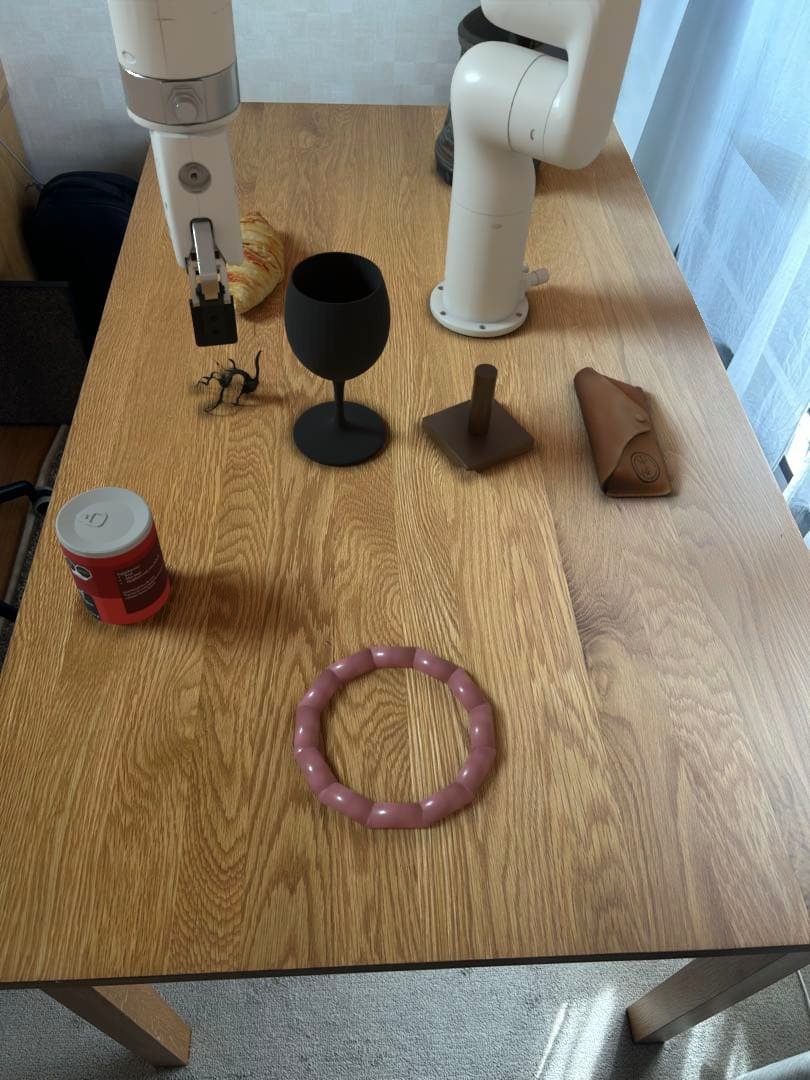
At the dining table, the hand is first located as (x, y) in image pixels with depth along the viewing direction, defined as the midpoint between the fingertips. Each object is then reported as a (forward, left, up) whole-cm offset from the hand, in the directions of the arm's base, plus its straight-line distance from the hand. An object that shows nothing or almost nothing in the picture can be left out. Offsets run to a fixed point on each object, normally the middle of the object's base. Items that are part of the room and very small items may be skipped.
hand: (211, 306), depth 72 cm
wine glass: (-15, -6, -25) cm, 30 cm away
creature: (-7, -18, -25) cm, 32 cm away
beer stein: (-64, -46, -25) cm, 82 cm away
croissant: (-19, -39, -25) cm, 50 cm away
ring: (-1, +29, -24) cm, 38 cm away
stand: (-28, +2, -25) cm, 37 cm away
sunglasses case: (-42, +10, -25) cm, 50 cm away
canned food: (+13, +4, -25) cm, 29 cm away
